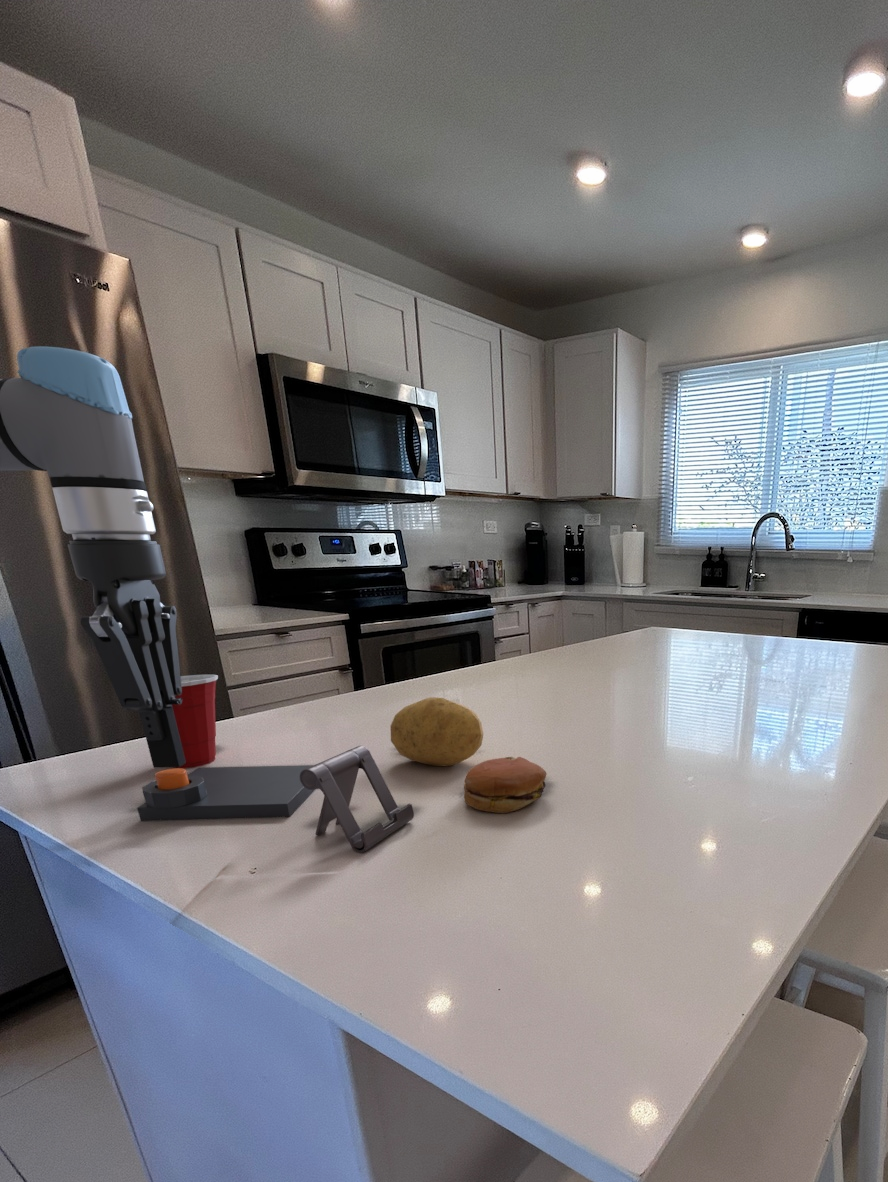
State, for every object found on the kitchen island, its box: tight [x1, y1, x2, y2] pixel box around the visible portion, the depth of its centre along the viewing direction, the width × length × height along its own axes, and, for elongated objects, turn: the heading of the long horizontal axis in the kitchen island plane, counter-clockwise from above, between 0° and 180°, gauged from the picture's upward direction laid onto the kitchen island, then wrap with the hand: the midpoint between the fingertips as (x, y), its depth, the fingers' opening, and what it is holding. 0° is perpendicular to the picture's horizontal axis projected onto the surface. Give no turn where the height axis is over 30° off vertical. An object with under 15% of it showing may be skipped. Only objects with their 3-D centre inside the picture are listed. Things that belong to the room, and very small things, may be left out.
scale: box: [136, 764, 316, 822], centre depth 79 cm, size 16×14×4 cm
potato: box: [390, 696, 484, 767], centre depth 91 cm, size 10×13×9 cm
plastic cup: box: [172, 674, 219, 769], centre depth 91 cm, size 11×11×12 cm
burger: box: [463, 756, 548, 814], centre depth 79 cm, size 10×9×5 cm
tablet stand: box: [300, 745, 415, 854], centre depth 69 cm, size 9×8×8 cm
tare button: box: [154, 768, 189, 790], centre depth 74 cm, size 3×3×2 cm
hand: (169, 765), depth 73 cm, fingers closed
